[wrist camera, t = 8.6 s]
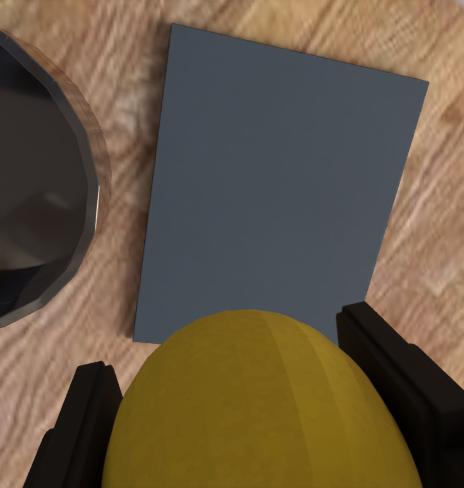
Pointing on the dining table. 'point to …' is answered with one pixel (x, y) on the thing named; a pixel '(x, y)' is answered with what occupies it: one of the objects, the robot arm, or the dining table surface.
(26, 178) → the pan
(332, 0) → the dining table surface
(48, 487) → the robot arm
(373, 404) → the lemon
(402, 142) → the napkin
